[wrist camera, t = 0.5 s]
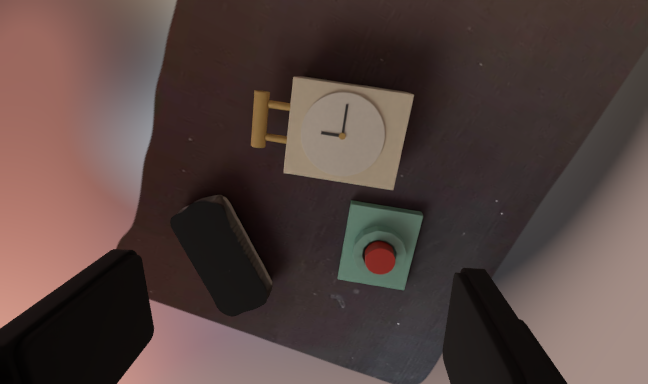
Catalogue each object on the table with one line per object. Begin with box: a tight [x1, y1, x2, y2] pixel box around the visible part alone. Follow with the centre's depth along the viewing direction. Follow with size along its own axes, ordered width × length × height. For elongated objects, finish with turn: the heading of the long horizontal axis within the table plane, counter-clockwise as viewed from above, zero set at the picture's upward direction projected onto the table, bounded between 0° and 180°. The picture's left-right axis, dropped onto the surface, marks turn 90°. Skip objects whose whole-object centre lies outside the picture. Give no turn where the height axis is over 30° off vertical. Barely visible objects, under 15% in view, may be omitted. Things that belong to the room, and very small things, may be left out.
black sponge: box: [170, 195, 272, 316], centre depth 46 cm, size 16×8×4 cm, turn 23°
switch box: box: [338, 200, 423, 290], centre depth 44 cm, size 11×9×3 cm
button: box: [365, 241, 395, 275], centre depth 42 cm, size 4×4×2 cm
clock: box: [251, 76, 414, 190], centre depth 38 cm, size 10×16×6 cm, turn 82°
